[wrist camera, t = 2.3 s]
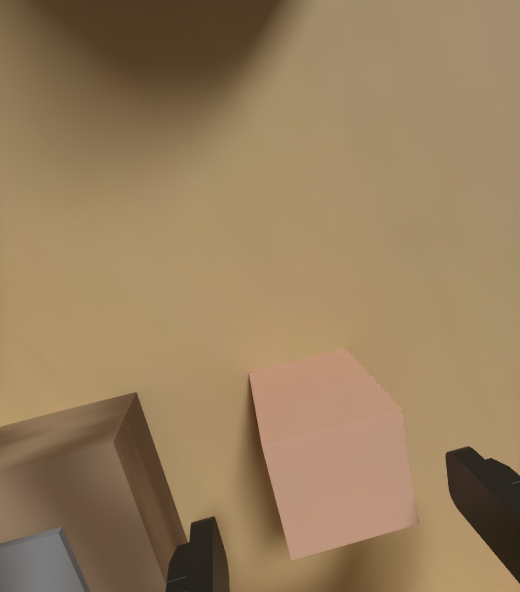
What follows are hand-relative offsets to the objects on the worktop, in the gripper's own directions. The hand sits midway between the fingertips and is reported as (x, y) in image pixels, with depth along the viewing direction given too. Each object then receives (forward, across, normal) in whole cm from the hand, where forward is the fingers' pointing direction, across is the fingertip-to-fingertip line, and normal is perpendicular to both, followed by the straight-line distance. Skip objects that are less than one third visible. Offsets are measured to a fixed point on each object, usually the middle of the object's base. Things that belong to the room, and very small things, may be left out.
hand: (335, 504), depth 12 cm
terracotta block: (+7, -1, 0) cm, 7 cm away
